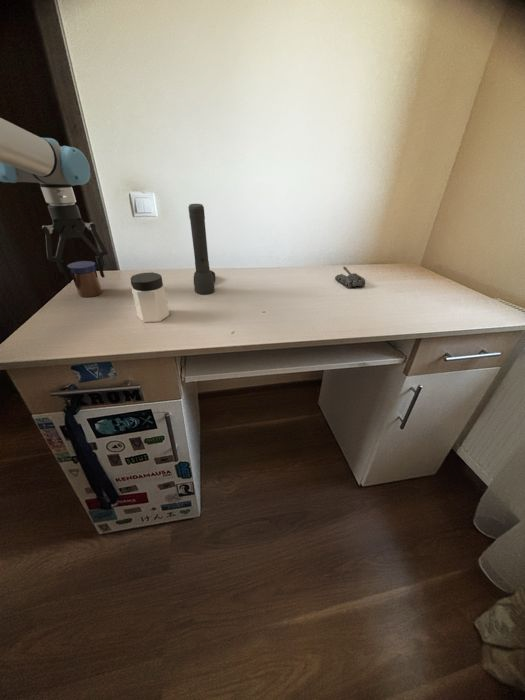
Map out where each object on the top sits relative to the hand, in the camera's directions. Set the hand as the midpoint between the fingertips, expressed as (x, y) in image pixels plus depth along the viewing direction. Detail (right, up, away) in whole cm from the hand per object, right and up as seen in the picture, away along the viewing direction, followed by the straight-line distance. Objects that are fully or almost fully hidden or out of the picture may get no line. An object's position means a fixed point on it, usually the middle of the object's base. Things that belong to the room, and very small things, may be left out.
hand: (86, 278), depth 94 cm
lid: (0, +4, -3) cm, 4 cm away
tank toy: (+94, +3, +20) cm, 96 cm away
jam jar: (0, -4, +3) cm, 5 cm away
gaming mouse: (+37, +3, +16) cm, 41 cm away
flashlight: (+38, -2, +8) cm, 39 cm away
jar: (+26, -14, -10) cm, 31 cm away
